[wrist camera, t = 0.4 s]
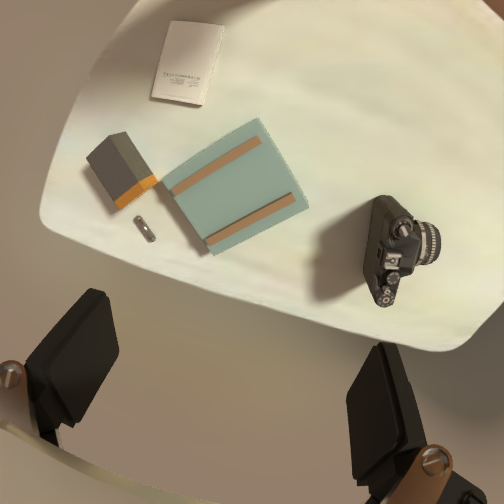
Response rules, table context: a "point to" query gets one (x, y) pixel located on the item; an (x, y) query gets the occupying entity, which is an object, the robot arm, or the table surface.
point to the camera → (396, 248)
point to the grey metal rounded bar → (145, 228)
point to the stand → (236, 188)
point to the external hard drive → (187, 61)
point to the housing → (121, 169)
